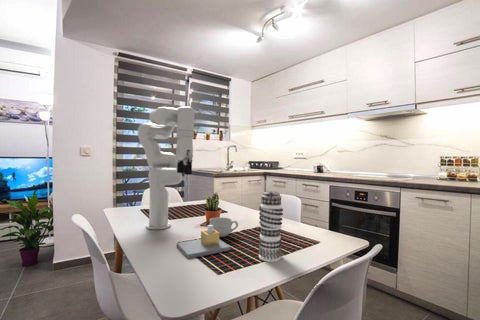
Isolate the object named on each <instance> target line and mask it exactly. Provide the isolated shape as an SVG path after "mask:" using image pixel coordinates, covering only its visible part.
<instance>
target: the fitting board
mask: <svg viewBox="0 0 480 320" xmlns="http://www.w3.org/2000/svg"><path fill="white" fill-rule="evenodd" d="M206 228H207V229H206V230H207V233H213V225H210V224H207V227H206ZM176 247H177V248H178V250H179V251H180V252H181V253H182V254H183V256H184V257H186V259H193V258H198V257H203V256H209V255H214V254H218V252H219V253H223V251H224V252H229V251H231V245H229V244H227V243H226V242H225V241H223V240H222V239H220V238H219V245H214V246H208V247H206V246H205V245H203V244H202V243H201V238H200V239H199V238H198V239H194V240H193V239H192V240H186V241H181V242H179V241H178V242H176ZM228 250H229V251H228Z"/></svg>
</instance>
